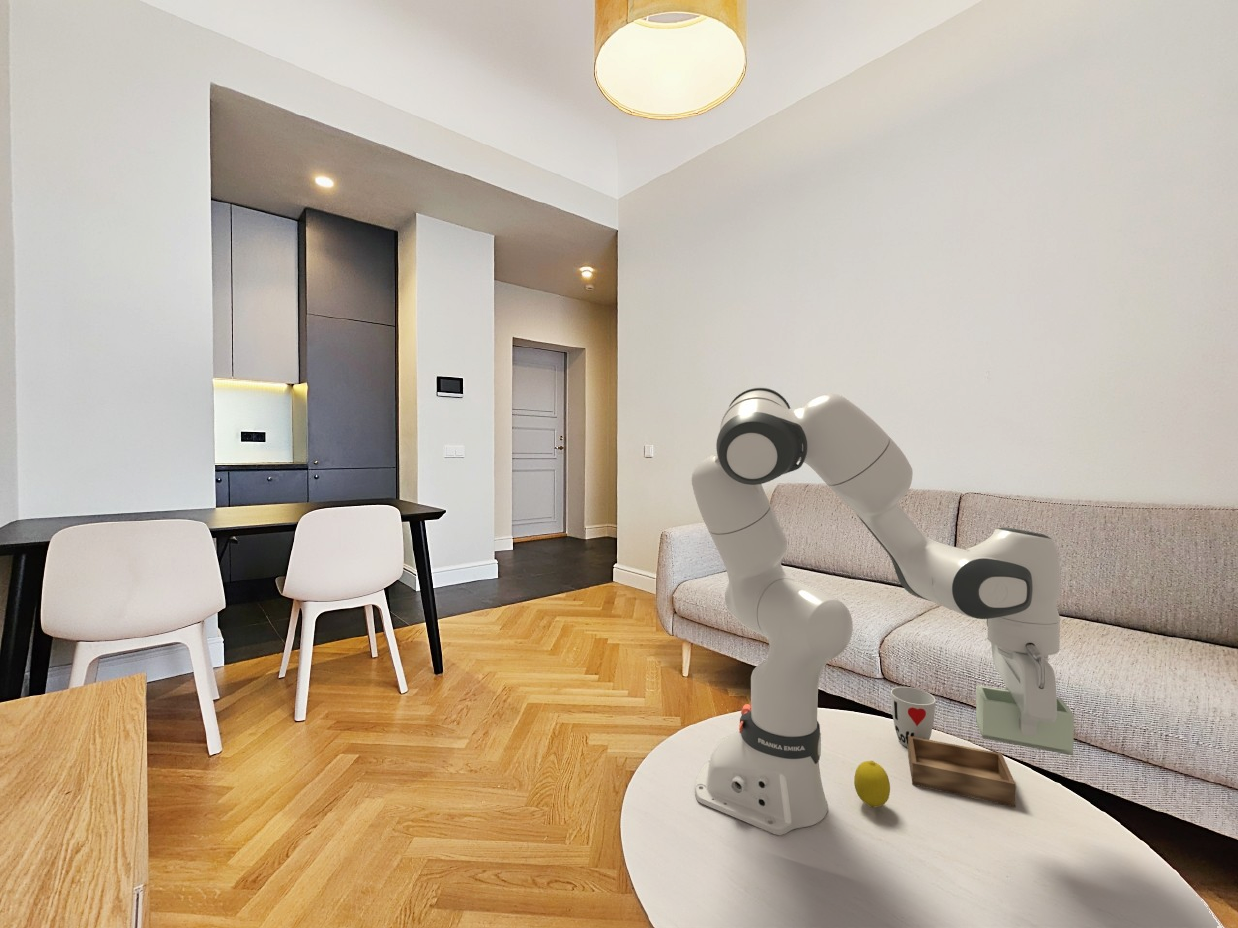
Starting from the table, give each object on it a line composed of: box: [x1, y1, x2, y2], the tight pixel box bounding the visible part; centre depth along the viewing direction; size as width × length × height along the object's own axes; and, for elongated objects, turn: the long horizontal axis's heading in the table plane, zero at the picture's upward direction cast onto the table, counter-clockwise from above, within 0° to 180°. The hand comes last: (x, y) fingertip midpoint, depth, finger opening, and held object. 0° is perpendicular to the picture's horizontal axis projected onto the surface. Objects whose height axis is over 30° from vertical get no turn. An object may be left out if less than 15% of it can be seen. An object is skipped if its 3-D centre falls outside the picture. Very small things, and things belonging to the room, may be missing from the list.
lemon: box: [853, 760, 891, 809], centre depth 91 cm, size 6×6×8 cm
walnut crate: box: [907, 736, 1017, 808], centre depth 98 cm, size 15×10×4 cm, turn 65°
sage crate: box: [975, 685, 1075, 756], centre depth 82 cm, size 11×6×6 cm, turn 65°
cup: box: [890, 686, 936, 748], centre depth 110 cm, size 8×8×10 cm
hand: (1021, 722), depth 82 cm, fingers closed on sage crate, 5 cm apart
